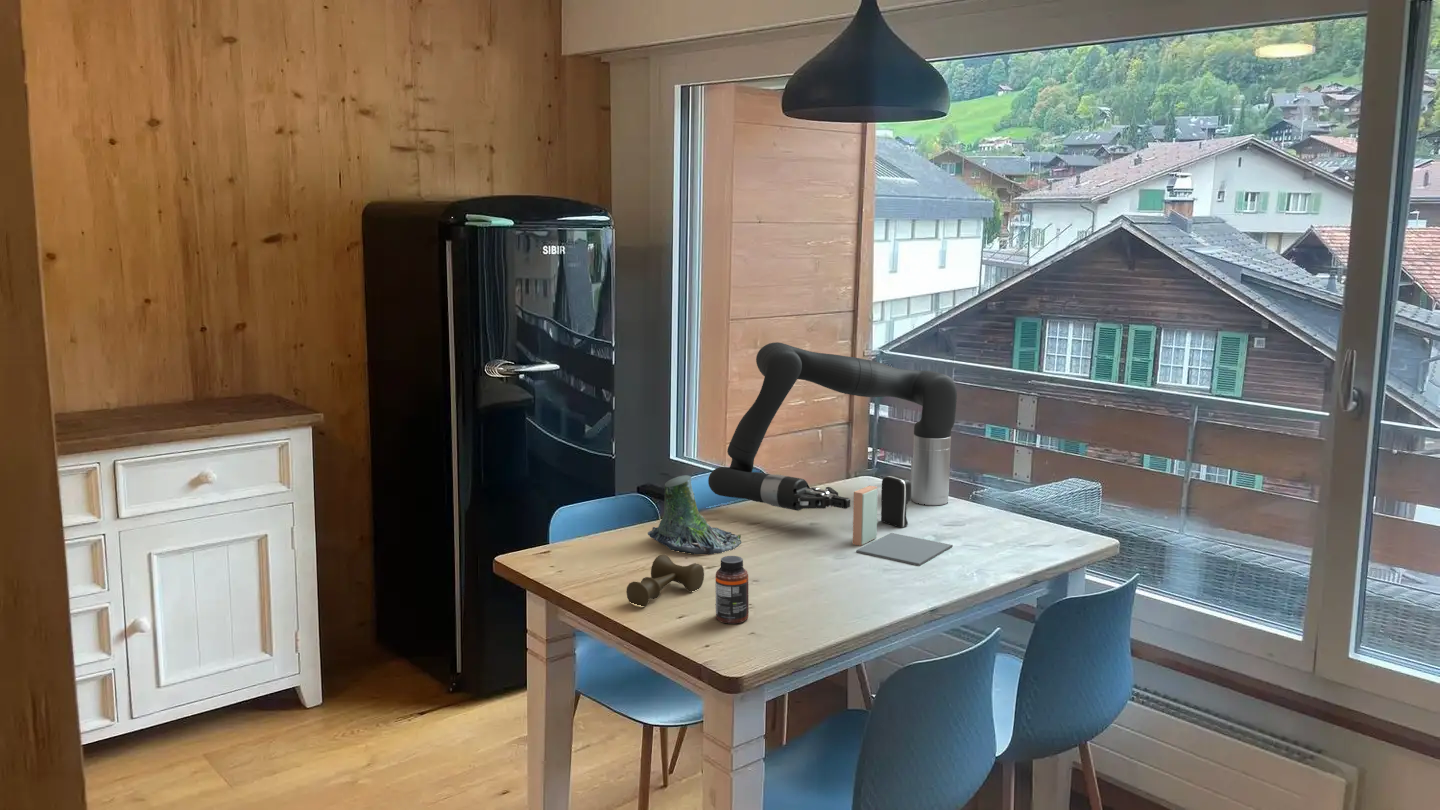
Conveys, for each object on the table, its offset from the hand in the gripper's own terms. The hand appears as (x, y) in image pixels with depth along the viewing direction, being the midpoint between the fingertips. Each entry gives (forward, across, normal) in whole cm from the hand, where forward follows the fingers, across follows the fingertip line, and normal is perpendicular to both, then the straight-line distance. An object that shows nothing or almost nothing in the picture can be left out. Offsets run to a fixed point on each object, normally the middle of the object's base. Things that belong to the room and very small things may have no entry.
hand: (848, 503), depth 237 cm
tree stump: (-25, -25, +8) cm, 36 cm away
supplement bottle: (+8, -55, +8) cm, 57 cm away
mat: (+14, 0, +8) cm, 16 cm away
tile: (+4, 0, +8) cm, 9 cm away
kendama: (-10, -52, +8) cm, 53 cm away
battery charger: (+3, +17, +8) cm, 19 cm away
